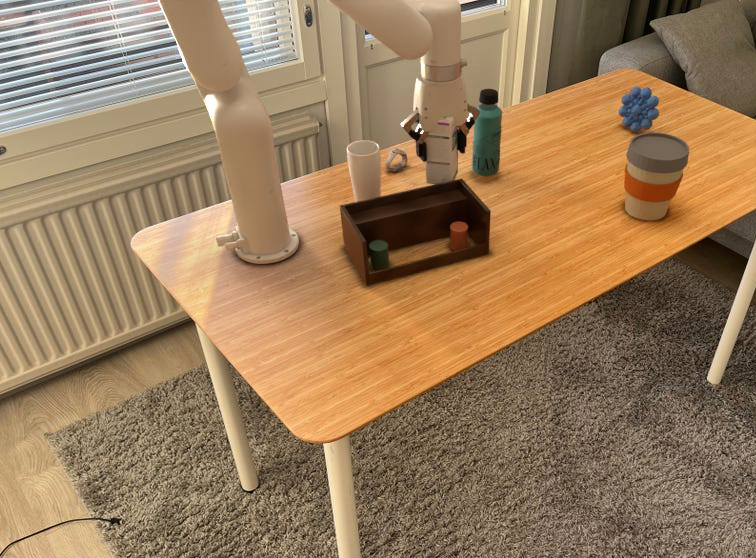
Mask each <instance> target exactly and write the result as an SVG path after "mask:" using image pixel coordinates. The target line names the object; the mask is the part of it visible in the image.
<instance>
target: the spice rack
mask: <svg viewBox="0 0 756 558" xmlns="http://www.w3.org/2000/svg"><path fill="white" fill-rule="evenodd" d="M339 212H340V213H339V214H340V221H341V229H342V237H343V245H344V250H345V251H346V253H347V255H348V257H349V258H350V260H351V263H352V264H353V265H354V267H355V269H356V270H357V272H358V274H359V275H360V278H361V279H362V281H363V282H364V284H365V286H371V285H375V284H378V283H382V282H385V281H389V280H394V279H396V278H397V279H398V278H400V277H406V276H408V275H412V274H417V273H419V272H423V271H428V270H431V269H435V268H439V267H443V266H446V265H447V266H448V265H450V264H455V263H458V262H462V261H466V260H470V259H475V258H478V257H481V256H485V255H488V254H490V233H491V215H492V214H491V213H492V211H491V210H490V208H489V207H488V206H487V205H486V203H484V202H483V200H482V199H481V198H480V197H479V195H477V193H475V191H474V190H473V189H472V187H470V186H469V184H468V183H467V182H466V181H465V180H464V179H463V178H457V179H455V180H453V181H448V182H444V183H439V184H430V185H426V186H422V187H416V188H413V189H408V190H403V191H399V192H394V193H390V194H384V195H381V196H380V197H376V198H371V199H367V200H362V201H358V202H355V201H353V202H350V203H345V204H344V203H343V204H340V205H339ZM454 222H464V223H466V224H467V225H468V236H469V237H471V239H472V240H473V241H474V242H475V244H476V245H472V246H468V247H467V248H464V249H460V250H456V251H454V250H452V251H449V252H443V253H441V254H436V255H433V256H428V257H425V258H421V259H417V260H413V261H410V262H409V261H408V262H405V263H401V264H397V265H394V266H389V268H385V269H382V270H378V271H374V270H373V271H371V272H370V267H369V258H368V257H370V251H369V244H370V243H371V242H373V241H376V240H382V241H385V242H386V243H387V244H388V252H389V251H394V250H399V249H401V248H407V247H410V246H414V245H419V244H422V243H426V242H431V241H434V240H438V239H443V238H446V237H447V238H448V237H450V225H451V224H452V223H454Z"/></svg>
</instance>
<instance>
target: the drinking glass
mask: <svg viewBox="0 0 756 558" xmlns="http://www.w3.org/2000/svg"><path fill="white" fill-rule="evenodd" d="M346 158H347V159H346V160H347V168H348V172H349V173H348V174H349V178H350V182H351V188H352V192H353V197H354V202H358V201H362V200H367V199H371V198H376V197H380V196H382V156H381V147H380V145H379V144H378V143H377V142H375V141H372V140H366V139H365V140H355V141H353V142H351V143H348V145H347V147H346Z"/></svg>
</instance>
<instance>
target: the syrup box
mask: <svg viewBox="0 0 756 558" xmlns="http://www.w3.org/2000/svg"><path fill="white" fill-rule="evenodd" d="M424 142H425V143H426V145H427V161H426V162H424V163H425V183H426V184H430V185H435V184H439V183H444V182H448V181H453V180H456V178H457V176H458V174H459V150H458V126H456V127H454V119H453V117H446V118H440V120H439V121H438V125H437V128H436V130H435V131H431V132H429V133H428V135H427V137H426V139H425V140H424Z"/></svg>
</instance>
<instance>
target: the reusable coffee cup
mask: <svg viewBox="0 0 756 558" xmlns="http://www.w3.org/2000/svg"><path fill="white" fill-rule="evenodd" d="M625 156H626V159H627V163H626V164H625V168H624V182H623V183H624V184H623V187H624V191H625V198H624V199H625V201H624V210H625V212H626V213H627V214H628V215H630V216H631V217H633V218H635V219H637V220H642V221H657V220H661V219H662V218H664V217H665V216H666V214H667V212H668V209H669V207H670V204H671V202H672V199H673V198H674V197H676V195H677V192H678V190H679V187H680V186H681V185H680V184H681V182H682V180H683V177H684V170H685V169H686V167H687V166H688V162H689V157H690V147H689V145H688V143H687V142H686V141H685V140H683V139H682V138H680V137H678V136H676V135H672V134H669V133H664V132H655V131H654V132H653V131H652V132H642V133H640V134H639V133H638V134H637V135H634V136H633V137H632V138H631V140H630V141H629V145H628V148H627V151H626V155H625Z"/></svg>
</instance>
